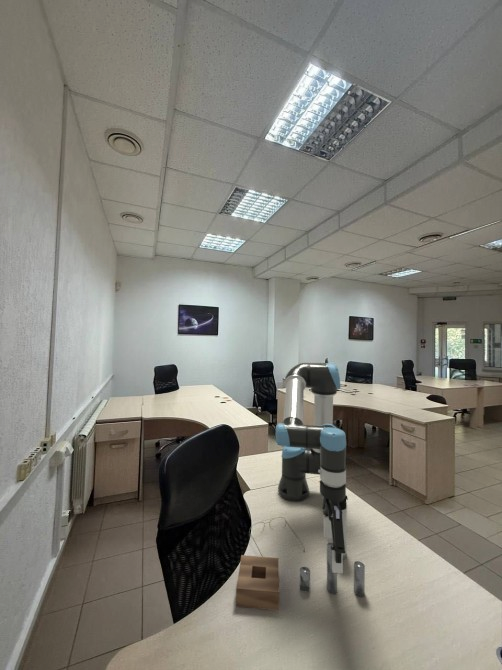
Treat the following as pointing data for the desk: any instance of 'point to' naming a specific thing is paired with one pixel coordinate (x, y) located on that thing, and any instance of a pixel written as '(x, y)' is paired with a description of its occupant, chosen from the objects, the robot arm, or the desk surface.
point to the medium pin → (359, 578)
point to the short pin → (305, 579)
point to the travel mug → (344, 520)
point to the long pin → (330, 575)
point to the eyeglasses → (272, 529)
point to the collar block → (258, 583)
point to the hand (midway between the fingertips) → (332, 553)
